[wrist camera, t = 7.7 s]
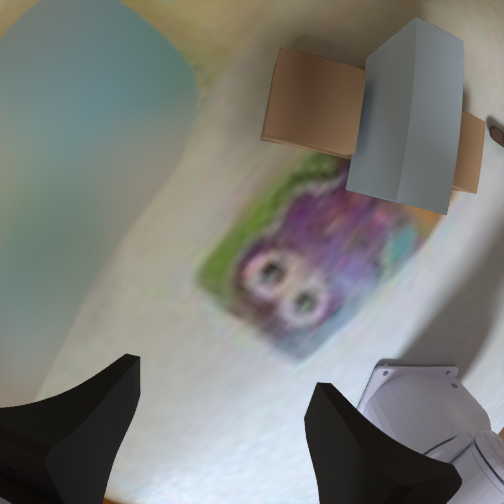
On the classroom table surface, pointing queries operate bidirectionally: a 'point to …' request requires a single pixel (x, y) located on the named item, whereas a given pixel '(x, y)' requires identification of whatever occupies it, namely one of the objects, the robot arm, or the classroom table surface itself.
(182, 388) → the classroom table surface
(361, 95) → the brown u-shaped block
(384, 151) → the pale grey-blue block
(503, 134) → the brown monkey toy
